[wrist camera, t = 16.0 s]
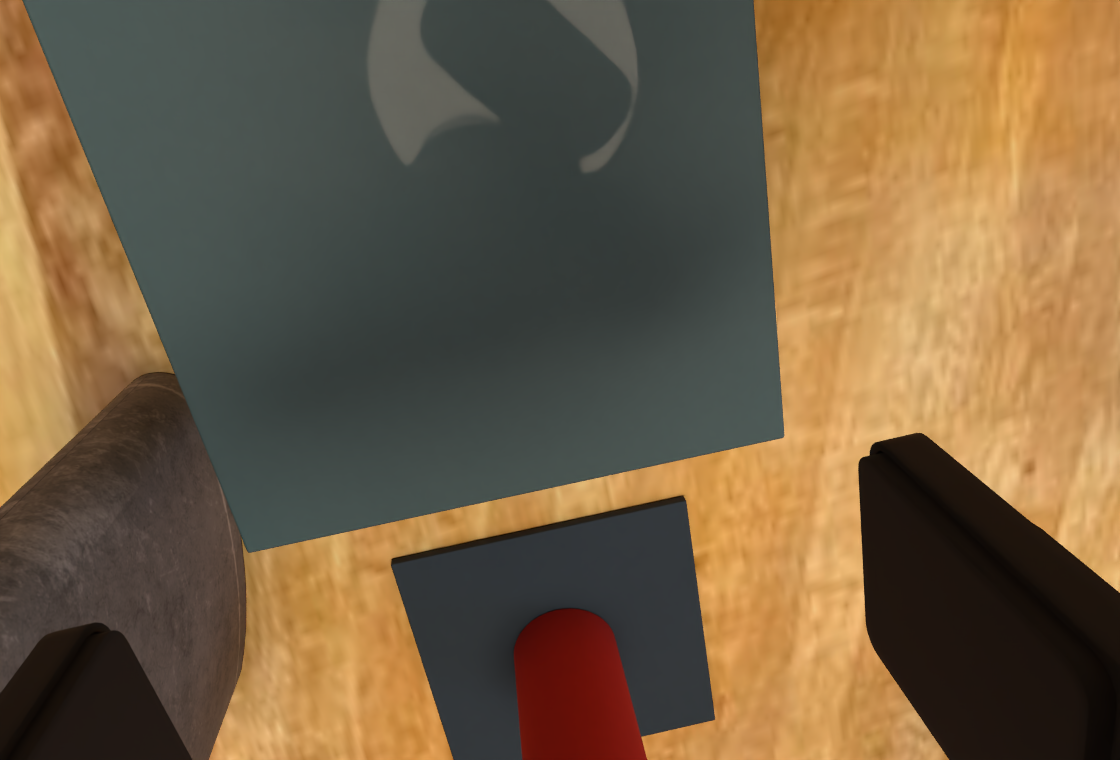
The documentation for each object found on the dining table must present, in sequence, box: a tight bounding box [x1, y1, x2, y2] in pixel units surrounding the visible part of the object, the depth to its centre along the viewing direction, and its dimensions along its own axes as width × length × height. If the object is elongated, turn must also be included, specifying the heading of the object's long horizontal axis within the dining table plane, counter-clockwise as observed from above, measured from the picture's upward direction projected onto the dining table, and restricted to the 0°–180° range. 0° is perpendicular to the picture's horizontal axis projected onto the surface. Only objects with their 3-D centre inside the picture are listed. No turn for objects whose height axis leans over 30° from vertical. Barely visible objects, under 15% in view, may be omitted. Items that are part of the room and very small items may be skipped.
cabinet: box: [23, 0, 784, 553], centre depth 21 cm, size 17×15×9 cm
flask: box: [0, 373, 246, 760], centre depth 21 cm, size 4×14×18 cm, turn 177°
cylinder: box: [514, 608, 647, 760], centre depth 28 cm, size 4×4×10 cm
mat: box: [391, 496, 715, 760], centre depth 33 cm, size 12×12×1 cm
